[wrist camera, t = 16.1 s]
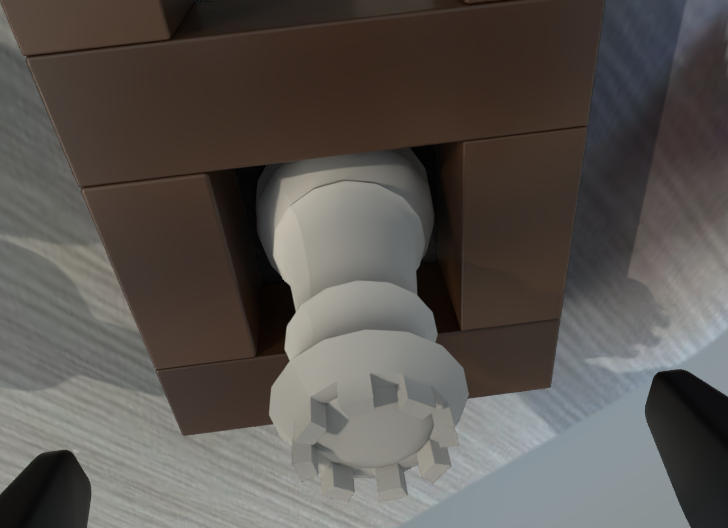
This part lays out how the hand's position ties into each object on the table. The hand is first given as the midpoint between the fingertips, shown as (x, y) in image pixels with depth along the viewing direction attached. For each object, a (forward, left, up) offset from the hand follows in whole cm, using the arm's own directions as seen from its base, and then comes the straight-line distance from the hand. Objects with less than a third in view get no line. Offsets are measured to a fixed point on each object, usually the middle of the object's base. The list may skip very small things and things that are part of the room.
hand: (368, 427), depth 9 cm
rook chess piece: (0, 0, -8) cm, 8 cm away
